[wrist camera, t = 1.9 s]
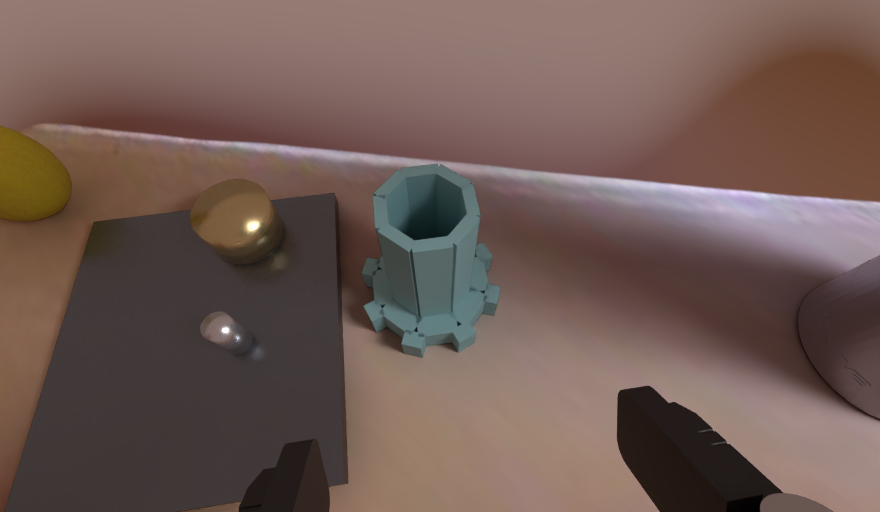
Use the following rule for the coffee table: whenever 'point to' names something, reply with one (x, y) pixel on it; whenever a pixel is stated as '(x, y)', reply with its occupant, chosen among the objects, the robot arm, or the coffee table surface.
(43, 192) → the lemon
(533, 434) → the coffee table surface
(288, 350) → the carrier plate
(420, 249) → the teal octagonal tube
